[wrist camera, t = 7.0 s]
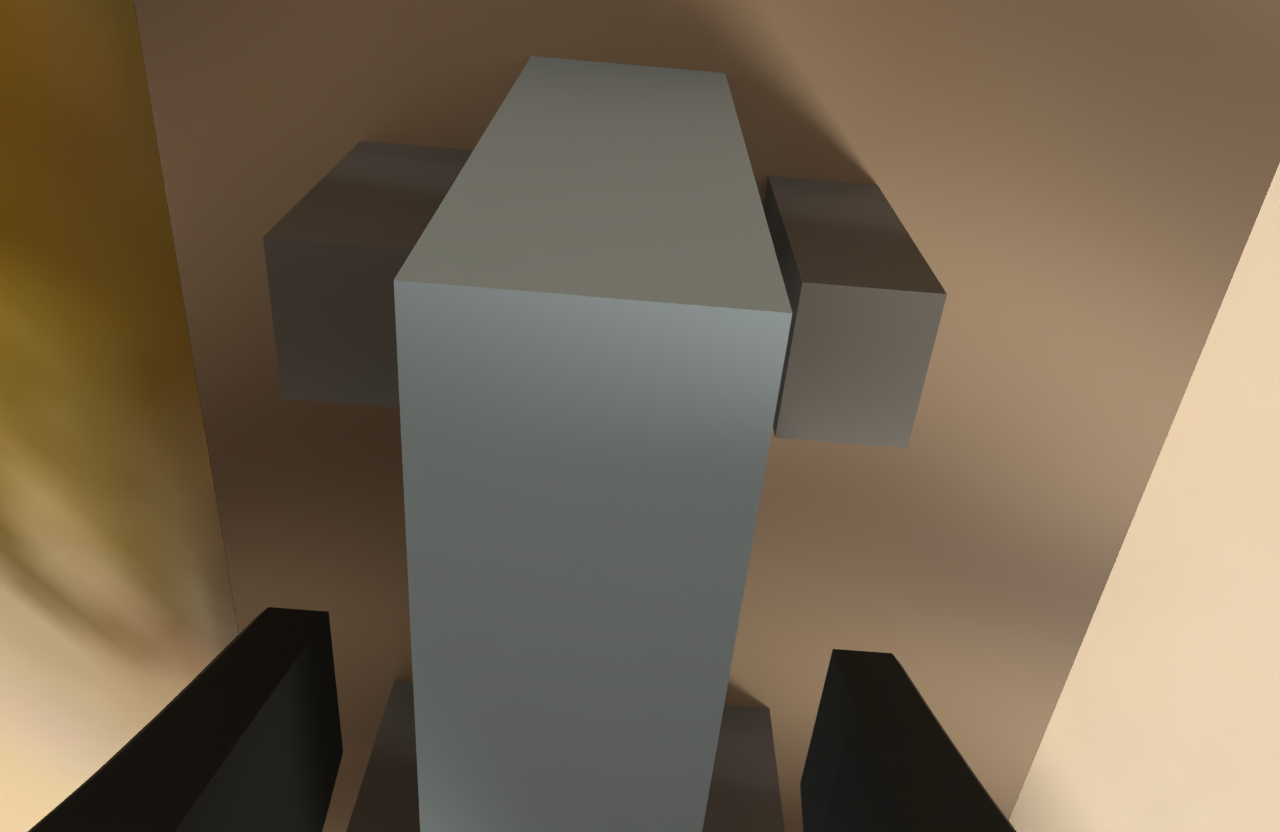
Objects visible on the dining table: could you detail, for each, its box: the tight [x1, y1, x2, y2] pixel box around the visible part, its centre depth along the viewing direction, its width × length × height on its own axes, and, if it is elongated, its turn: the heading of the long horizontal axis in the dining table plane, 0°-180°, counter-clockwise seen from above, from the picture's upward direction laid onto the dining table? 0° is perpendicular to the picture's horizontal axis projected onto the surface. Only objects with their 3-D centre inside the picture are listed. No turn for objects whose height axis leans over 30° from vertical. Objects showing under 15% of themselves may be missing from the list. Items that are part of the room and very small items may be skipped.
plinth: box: [134, 0, 1280, 832], centre depth 12 cm, size 20×12×4 cm, turn 175°
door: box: [394, 56, 792, 832], centre depth 11 cm, size 12×3×6 cm, turn 175°
